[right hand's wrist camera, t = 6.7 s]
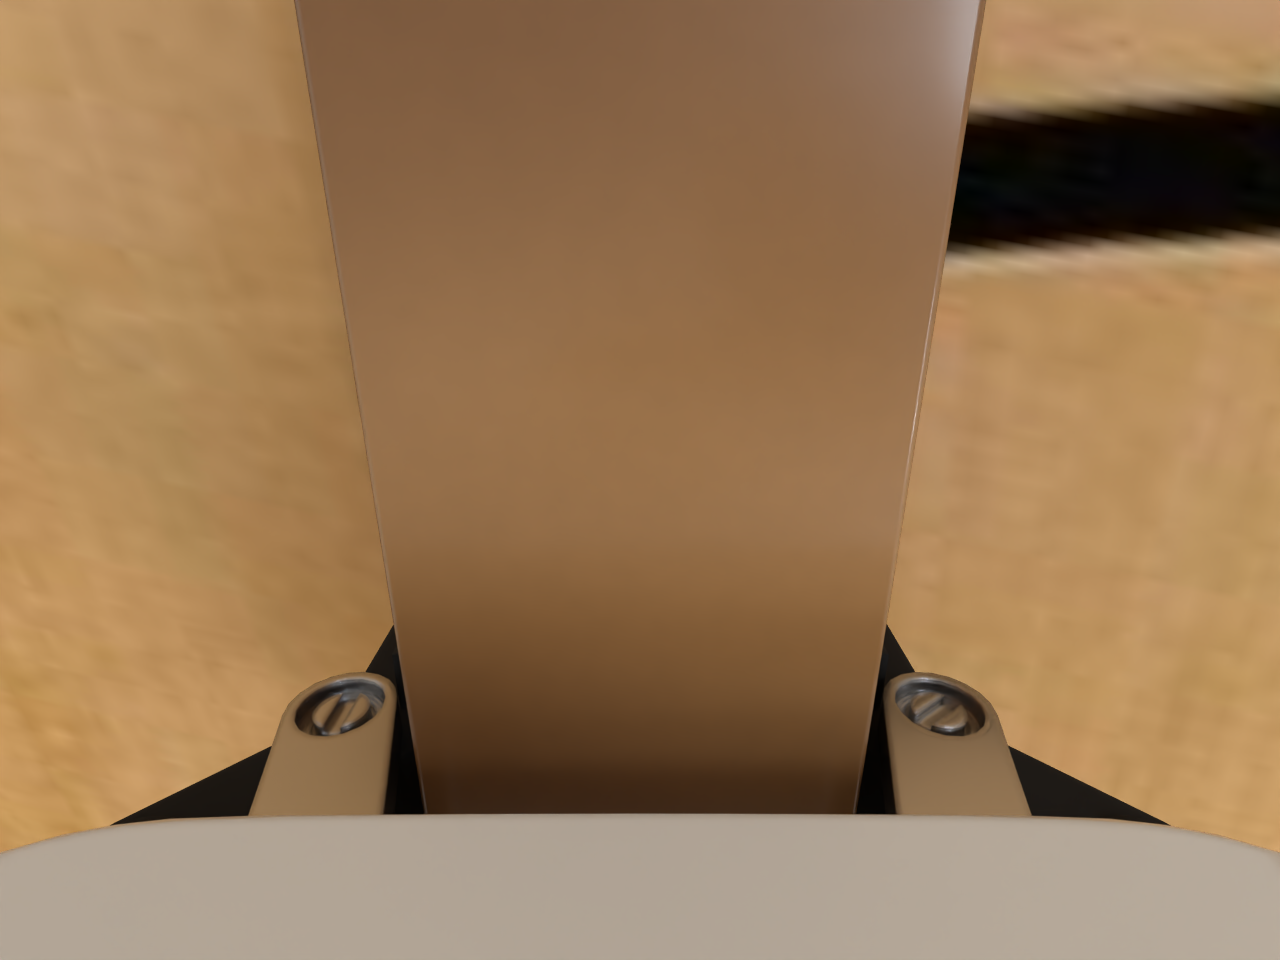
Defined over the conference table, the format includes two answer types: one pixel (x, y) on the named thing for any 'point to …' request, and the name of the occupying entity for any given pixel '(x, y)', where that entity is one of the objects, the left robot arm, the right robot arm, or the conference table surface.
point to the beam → (640, 375)
